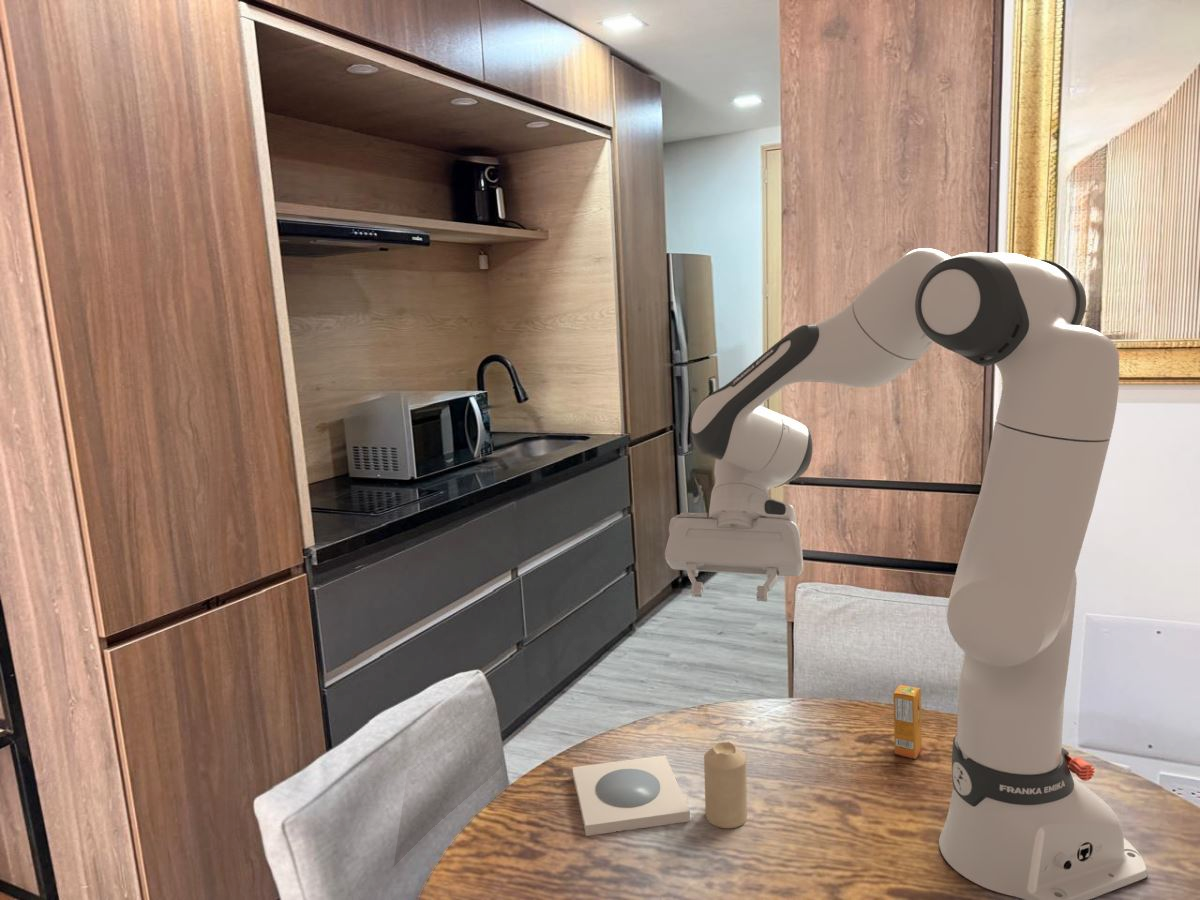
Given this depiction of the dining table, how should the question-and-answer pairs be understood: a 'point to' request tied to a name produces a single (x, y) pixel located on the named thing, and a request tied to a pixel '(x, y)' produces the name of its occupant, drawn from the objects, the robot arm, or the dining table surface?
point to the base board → (629, 795)
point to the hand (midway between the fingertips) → (728, 597)
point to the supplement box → (907, 721)
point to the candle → (725, 786)
